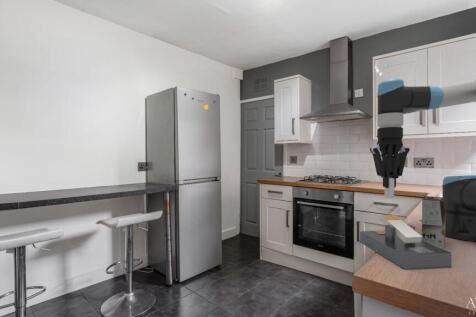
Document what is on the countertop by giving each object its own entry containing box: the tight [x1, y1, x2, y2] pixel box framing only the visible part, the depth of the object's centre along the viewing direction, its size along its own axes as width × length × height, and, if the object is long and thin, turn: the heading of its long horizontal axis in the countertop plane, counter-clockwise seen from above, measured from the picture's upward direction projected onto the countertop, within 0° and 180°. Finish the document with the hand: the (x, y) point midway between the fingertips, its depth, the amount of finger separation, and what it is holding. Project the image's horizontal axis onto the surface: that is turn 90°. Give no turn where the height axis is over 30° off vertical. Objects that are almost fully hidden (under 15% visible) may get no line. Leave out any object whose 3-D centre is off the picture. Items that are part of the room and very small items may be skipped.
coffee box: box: [421, 195, 446, 249], centre depth 92 cm, size 9×6×16 cm
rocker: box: [380, 214, 422, 243], centre depth 83 cm, size 5×12×2 cm, turn 5°
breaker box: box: [359, 223, 452, 270], centre depth 83 cm, size 14×22×9 cm, turn 5°
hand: (389, 197), depth 88 cm, fingers closed
